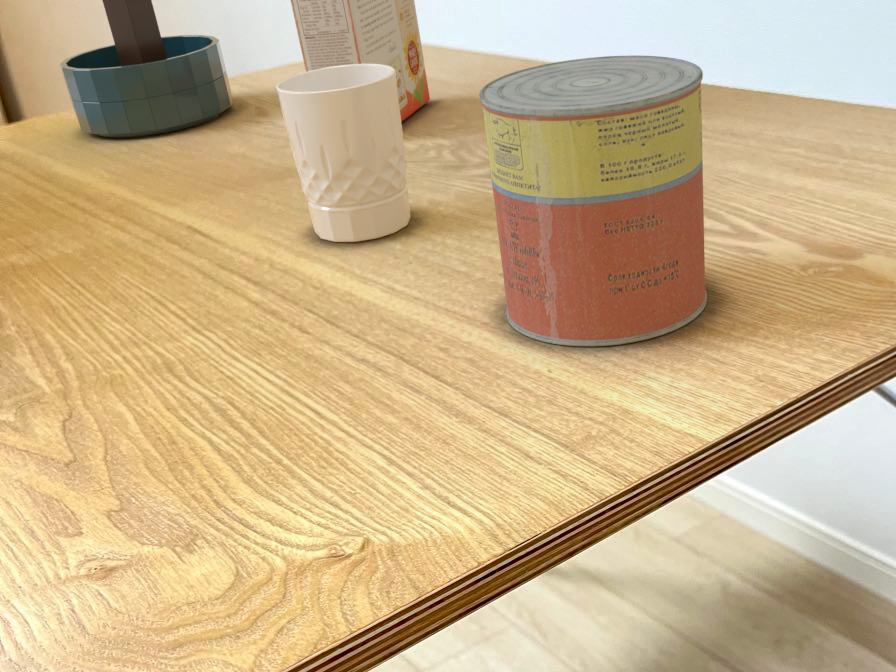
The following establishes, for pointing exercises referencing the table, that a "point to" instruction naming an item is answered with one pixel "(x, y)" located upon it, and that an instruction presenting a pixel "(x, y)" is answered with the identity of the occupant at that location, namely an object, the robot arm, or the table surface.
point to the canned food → (599, 197)
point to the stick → (134, 31)
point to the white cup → (348, 149)
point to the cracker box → (365, 41)
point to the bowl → (148, 88)
